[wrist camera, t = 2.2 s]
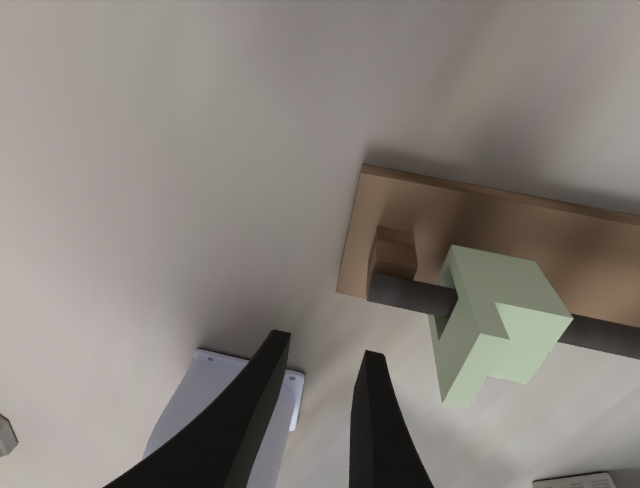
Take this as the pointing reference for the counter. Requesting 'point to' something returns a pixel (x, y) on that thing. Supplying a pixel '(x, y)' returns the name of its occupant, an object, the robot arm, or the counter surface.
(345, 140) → the counter surface
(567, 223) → the cord rail
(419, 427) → the counter surface
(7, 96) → the counter surface
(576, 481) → the coffee box
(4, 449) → the tankard
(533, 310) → the sleeve
